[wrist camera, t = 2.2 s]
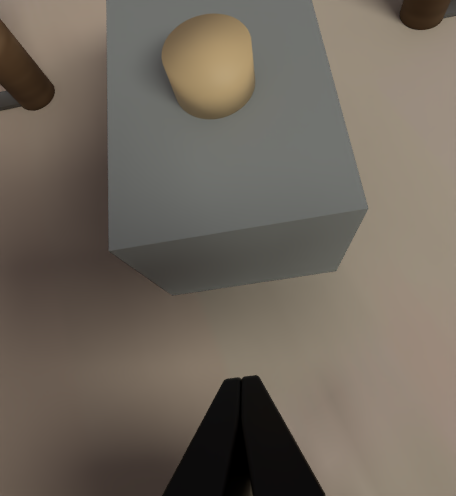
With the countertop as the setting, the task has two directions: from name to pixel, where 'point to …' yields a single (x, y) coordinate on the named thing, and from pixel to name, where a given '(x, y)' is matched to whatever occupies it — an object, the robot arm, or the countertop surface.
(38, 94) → the brown l-shaped pieces
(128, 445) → the countertop surface
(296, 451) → the robot arm
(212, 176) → the gray block
